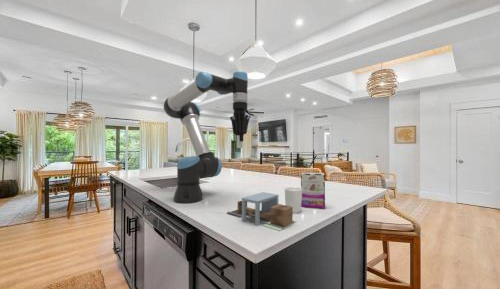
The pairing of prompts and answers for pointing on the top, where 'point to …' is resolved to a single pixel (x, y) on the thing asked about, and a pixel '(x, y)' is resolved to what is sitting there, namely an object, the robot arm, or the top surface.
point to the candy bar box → (313, 190)
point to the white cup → (293, 198)
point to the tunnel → (267, 202)
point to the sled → (273, 214)
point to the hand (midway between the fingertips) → (239, 147)
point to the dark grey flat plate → (236, 213)
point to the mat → (277, 225)
